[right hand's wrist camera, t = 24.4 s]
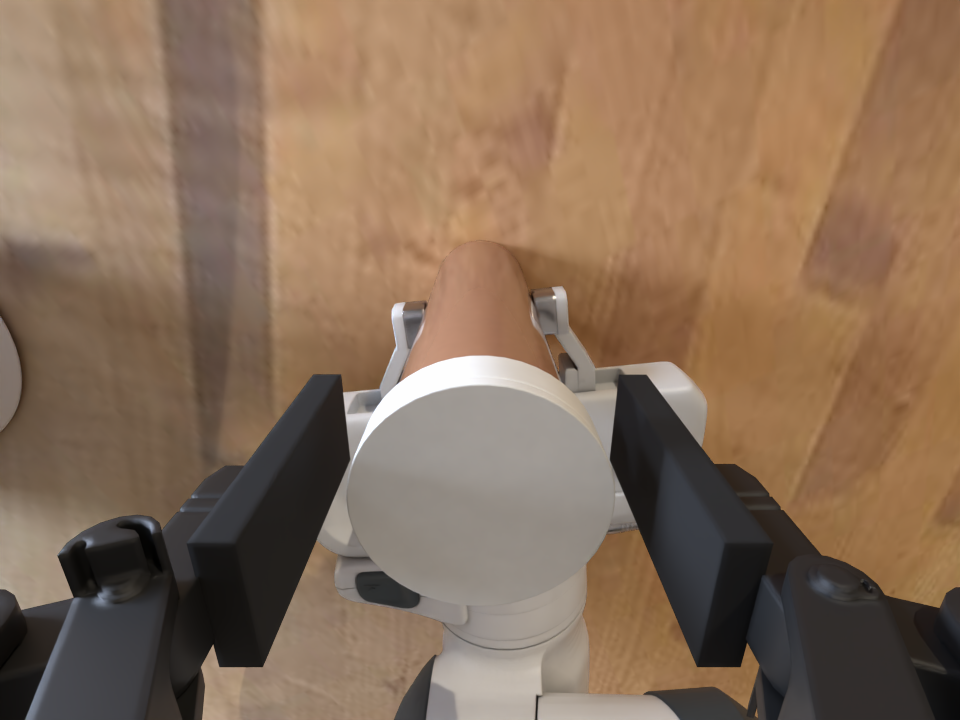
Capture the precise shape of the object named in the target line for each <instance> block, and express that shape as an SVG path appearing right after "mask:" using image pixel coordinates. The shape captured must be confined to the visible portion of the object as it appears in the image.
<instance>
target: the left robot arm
mask: <svg viewBox="0 0 960 720" xmlns="http://www.w3.org/2000/svg"><path fill="white" fill-rule="evenodd" d="M531 298H532V300H533V303H534V306H535V309H536V312H537V314H538V317H539V320H540V323H541V326H542V328H543V331H544V334H545V335H548V334H554V335H555V336H556V338H557V339H558V341H559V342H560V343H561V345H562V346H563V348H564V349H565V351H566V352H567V353H561V354H560V355H559V372H558V373H559V376H560V379H561V382H562V383H563V384H564V385H565V386H566V387H567V388H568V389H570V390H571V391H572V392H573V393H574V394H575V395H576V397H577V398H578V399H579V400H580V402H581V403H582V404H583V405H584V407H585V409H586V410H587V412H588V414H589V415H590V417H591V419H592V421H593V424H594V426H595V429H596V431H597V433H598V436H599V438H600V440H601V443H602V445H603V448H604V450H605V452H606V455H607V457H608V460H609V463H610V465H611V468H612V473H613V477H614V482H615V504H614V512H613V516H612V520H611V523H610V527H609V529H608V531H607V534H616V533H620V532H621V533H622V532H625V531H630V530H631V531H632V530H635V529H636V530H639V528H638V526H637V524H636V521H635V519H634V516H633V514H632V512H631V509H630V507H629V505H628V502H627V500H626V497H625V495H624V493H623V490H622V488H621V486H620V483H619V481H618V479H617V476H616V474H615V471H614V469H613V467H612V464H611V462H610V451H611V442H612V433H613V424H614V414H615V405H616V396H617V387H618V378H619V375H647V376H648V377H649V378H650V380H651V381H652V382H653V384H654V385H655V386H656V388H657V389H658V390H659V392H660V393H661V394H662V396H663V397H664V398H665V400H666V401H667V402H668V404H669V405H670V406H671V408H672V409H673V410H674V412H675V413H676V414H677V416H678V417H679V418H680V420H681V421H682V422H683V424H684V425H685V426H686V428H687V429H688V430H689V431H690V433H691V434H692V435H693V437H694V438H695V439H696V441H697V442H698V443H699V445H700V446H701V447H702V444H703V439H704V433H705V426H706V419H707V401H706V398H705V396H704V394H703V393H702V391H701V390H700V388H699V387H698V386H697V385H696V384H695V382H694V381H693V380H692V379H691V378H690V377H689V376H688V375H687V374H686V373H684V372H683V371H682V370H681V369H680V368H678V367H677V366H676V365H675V364H673V363H671V362H653V363H643V364H632V365H622V366H612V367H601V368H595V366H594V364H593V362H592V360H591V358H590V356H589V355H588V353H587V351H586V349H585V348H584V346H583V345H582V343H581V342H580V341H579V339H578V338H577V336H576V335H575V333H574V332H573V330H572V329H571V328H570V326H569V322H568V301H567V295H566V291H565V290H564V288H563V287H562V286H559V287H549V288H540V289H532V290H531ZM426 306H427V301H416V302H402V303H396V304H395V305H394V307H393V309H392V323H393V329H394V335H395V340H396V348H395V350H394V353H393V355H392V357H391V360H390V362H389V365H388V367H387V370H386V372H385V375H384V377H383V380H382V382H381V385H380V389H373V390H363V391H352V392H343V396H344V405H345V415H346V424H347V433H348V442H349V451H350V462H349V464H348V467H347V469H346V471H345V474H344V476H343V479H342V481H341V483H340V486H339V488H338V490H337V493H336V495H335V497H334V500H333V502H332V505H331V507H330V509H329V512H328V514H327V516H326V519H325V521H324V523H323V526H322V528H321V531H320V533H319V535H318V538H317V541H318V542H319V543H320V544H321V545H323V546H324V547H325V548H326V549H328V550H330V551H331V552H333V553H336V554H338V556H337V561H336V567H335V573H334V581H335V586H336V589H337V591H338V593H339V594H340V595H341V596H342V597H343V598H345V599H347V600H350V601H354V602H359V603H365V604H371V605H377V606H383V607H388V608H393V609H398V610H403V611H407V612H411V613H415V614H419V615H422V616H426V617H428V618H431V619H434V620H437V621H440V622H442V624H443V628H444V633H443V651H442V652H441V654H440V655H438V656H437V655H434V656H433V657H432V658H431V659H430V660H429V661H428V662H427V664H426V665H425V666H424V667H423V669H422V670H421V672H420V673H419V675H418V676H417V678H416V679H415V681H414V682H413V684H412V685H411V687H410V688H409V690H408V692H407V693H406V695H405V696H404V698H403V700H402V702H401V704H400V706H399V709H398V711H397V713H396V716H395V719H394V720H758V718H757V717H756V716H754V719H753V718H750V717H747V716H746V715H747V709H746V708H744V707H743V706H742V705H740V704H739V703H738V702H737V701H735V700H734V699H732V698H731V697H729V696H728V695H727V694H725V693H724V692H722V691H721V690H719V689H718V688H715V687H701V688H688V689H675V690H662V691H649V692H646V693H644V694H643V695H629V694H592V693H588V690H589V669H590V654H589V636H588V630H587V627H586V623H585V620H584V618H583V615H582V614H583V611H584V608H585V604H586V598H587V568H586V565H584V566H583V567H582V568H581V569H580V570H579V571H578V572H577V573H576V574H575V575H573V576H572V577H571V578H569V579H568V580H566V581H565V582H564V583H562V584H560V585H558V586H557V587H555V588H553V589H551V590H549V591H547V592H545V593H543V594H540V595H538V596H536V597H532V598H529V599H526V600H523V601H519V602H514V603H509V604H504V605H494V606H468V605H457V604H452V603H447V602H442V601H439V600H435V599H432V598H429V597H426V596H424V595H421V594H419V593H416V592H414V591H412V590H410V589H408V588H407V587H405V586H403V585H401V584H399V583H398V582H397V581H395V580H394V579H392V578H391V577H390V576H388V575H387V574H386V573H385V572H383V571H382V570H381V569H380V568H379V567H378V566H377V565H376V564H375V563H374V562H373V561H372V559H371V558H370V557H369V556H368V555H367V554H366V552H365V550H364V549H363V547H362V546H361V544H360V543H359V541H358V539H357V537H356V535H355V532H354V530H353V528H352V525H351V521H350V518H349V514H348V508H347V500H346V493H347V480H348V475H349V470H350V467H351V464H352V462H353V459H354V456H355V454H356V451H357V449H358V446H359V444H360V441H361V439H362V437H363V434H364V432H365V429H366V427H367V425H368V422H369V420H370V418H371V416H372V415H373V413H374V411H375V409H376V408H377V406H378V405H379V404H380V402H381V401H382V400H383V398H384V397H385V396H386V395H387V394H388V393H389V392H390V391H391V390H392V389H393V388H394V387H395V386H396V385H397V384H399V382H400V379H401V377H402V374H403V371H404V370H403V368H404V365H405V363H406V360H407V358H408V355H409V353H410V351H411V348H412V345H413V343H414V340H415V337H416V334H417V331H418V328H419V326H420V323H421V320H422V317H423V314H424V311H425V309H426ZM21 390H22V373H21V365H20V360H19V356H18V353H17V349H16V347H15V344H14V341H13V339H12V337H11V334H10V332H9V330H8V328H7V326H6V325H5V323H4V321H3V319H2V318H1V316H0V432H1V431H2V430H3V429H4V428H5V427H6V426H7V424H8V423H9V422H10V420H11V419H12V417H13V416H14V414H15V412H16V409H17V407H18V404H19V401H20V397H21ZM607 534H606V535H607Z"/></svg>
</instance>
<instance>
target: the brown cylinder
mask: <svg viewBox="0 0 960 720" xmlns="http://www.w3.org/2000/svg"><path fill="white" fill-rule="evenodd" d="M465 356H496V357H505V358H509V359H513V360H517V361H521V362H524V363H527V364H529V365H532V366H535V367H537V368H539V369H541V370H543V371H545V372H546V373H548V374H550V375H552V376H553V377H555V378H556V379H557V380H559V381H560V382H561V379H560V376H559V373H558V370H557V368H556V365H555V362H554V359H553V356H552V354H551V351H550V348H549V345H548V342H547V340H546V337H545V334H544V331H543V328H542V326H541V323H540V320H539V317H538V314H537V312H536V309H535V306H534V303H533V300H532V298H531V295H530V292H529V289H528V286H527V284H526V281H525V278H524V275H523V272H522V270H521V267H520V265H519V263H518V261H517V260H516V258H515V257H514V256H513V255H512V254H511V253H510V252H509V251H508V250H507V249H506V248H504V247H502V246H501V245H499V244H496V243H493V242H490V241H471V242H467V243H464V244H462V245H460V246H458V247H457V248H455V249H454V250H453V251H451V252H450V253H449V254H448V255H447V256H446V258H445V259H444V261H443V262H442V264H441V266H440V269H439V272H438V275H437V277H436V280H435V283H434V286H433V289H432V292H431V294H430V297H429V300H428V303H427V306H426V309H425V311H424V314H423V317H422V320H421V323H420V326H419V328H418V331H417V334H416V337H415V340H414V343H413V345H412V348H411V351H410V354H409V357H408V360H407V362H406V365H405V368H404V371H403V374H402V377H401V379H400V382H401V381H403V380H404V379H405V378H407V377H408V376H410V375H411V374H413V373H415V372H417V371H419V370H420V369H422V368H425V367H427V366H430V365H432V364H435V363H437V362H441V361H444V360H448V359H452V358H458V357H465ZM400 382H399V383H400Z"/></svg>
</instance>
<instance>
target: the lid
mask: <svg viewBox="0 0 960 720" xmlns="http://www.w3.org/2000/svg"><path fill="white" fill-rule="evenodd" d="M346 500H347V508H348V514H349V518H350V521H351V525H352V528H353V530H354V532H355V535H356V537H357V539H358V541H359V543H360V544H361V546H362V547H363V549H364V550H365V552H366V554H367V555H368V556H369V557H370V558H371V559H372V561H373V562H374V563H375V564H376V565H377V566H378V567H379V568H380V569H381V570H382V571H383V572H385V573H386V574H387V575H388V576H390V577H391V578H392V579H394V580H395V581H397V582H398V583H399V584H401V585H403V586H405V587H407V588H408V589H410V590H412V591H414V592H416V593H419V594H421V595H424V596H426V597H429V598H432V599H435V600H439V601H442V602H447V603H452V604H457V605H468V606H494V605H504V604H509V603H514V602H519V601H523V600H526V599H529V598H532V597H536V596H538V595H540V594H543V593H545V592H547V591H549V590H551V589H553V588H555V587H557V586H558V585H560V584H562V583H564V582H565V581H566V580H568V579H569V578H571V577H572V576H573V575H575V574H576V573H577V572H578V571H579V570H580V569H581V568H582V567H583V566H584V565H586V564H587V563H588V561H589V560H590V559H591V558H592V556H593V555H594V554H595V553H596V552H597V550H598V548H599V547H600V545H601V543H602V542H603V540H604V538H605V536H606V534H607V531H608V529H609V527H610V523H611V520H612V516H613V512H614V504H615V482H614V477H613V473H612V468H611V465H610V463H609V460H608V457H607V455H606V452H605V450H604V448H603V445H602V443H601V440H600V438H599V436H598V433H597V431H596V429H595V426H594V424H593V421H592V419H591V417H590V415H589V414H588V412H587V410H586V409H585V407H584V405H583V404H582V403H581V402H580V400H579V399H578V398H577V397H576V395H575V394H574V393H573V392H572V391H571V390H570V389H568V388H567V387H566V386H565V385H564V384H563V383H562V382H560V381H559V380H557V379H556V378H555V377H553V376H552V375H550V374H548V373H546V372H545V371H543V370H541V369H539V368H537V367H535V366H532V365H529V364H527V363H524V362H521V361H517V360H513V359H509V358H505V357H496V356H465V357H458V358H452V359H448V360H444V361H441V362H437V363H435V364H432V365H430V366H427V367H425V368H422V369H420V370H419V371H417V372H415V373H413V374H411V375H410V376H408V377H407V378H405V379H404V380H403V381H401V382H400V383H399V384H397V385H396V386H395V387H394V388H393V389H392V390H391V391H390V392H389V393H388V394H387V395H386V396H385V397H384V398H383V400H382V401H381V402H380V404H379V405H378V406H377V408H376V409H375V411H374V413H373V415H372V416H371V418H370V420H369V422H368V425H367V427H366V429H365V432H364V434H363V437H362V439H361V441H360V444H359V446H358V449H357V451H356V454H355V456H354V459H353V462H352V464H351V467H350V470H349V475H348V480H347V493H346Z"/></svg>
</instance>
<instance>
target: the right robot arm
mask: <svg viewBox="0 0 960 720" xmlns="http://www.w3.org/2000/svg"><path fill="white" fill-rule="evenodd" d="M349 462H350V451H349V442H348V433H347V424H346V415H345V405H344V396H343V387H342V378H341V375H313V376H312V377H311V378H310V380H309V381H308V382H307V384H306V385H305V386H304V388H303V389H302V390H301V392H300V393H299V394H298V396H297V397H296V398H295V400H294V401H293V402H292V404H291V405H290V406H289V408H288V409H287V410H286V412H285V413H284V414H283V416H282V417H281V418H280V420H279V421H278V422H277V424H276V425H275V426H274V427H273V429H272V430H271V431H270V433H269V434H268V435H267V437H266V438H265V439H264V441H263V442H262V443H261V445H260V446H259V447H258V449H257V450H256V451H255V453H254V454H253V455H252V457H251V458H250V459H249V461H248V462H247V463H246V465H245V466H224V467H223V468H221V469H220V470H218V471H217V472H215V473H214V474H212V475H211V476H209V477H208V478H206V479H205V480H204V481H203V482H202V483H201V484H200V485H199V487H198V488H197V489H196V490H195V491H194V493H193V494H192V495H191V498H189V499H188V500H187V501H186V502H185V503H184V504H183V506H182V507H181V508H180V512H177V513H176V514H175V515H174V516H173V517H172V519H171V520H170V521H169V522H168V523H167V525H166V526H165V527H164V528H163V529H162V530H161V527H160V523H159V522H158V521H156V520H155V519H154V518H152V517H149V516H143V515H131V516H122V517H118V518H114V519H111V520H108V521H105V522H101V523H99V524H97V525H95V526H93V527H91V528H89V529H87V530H85V531H83V532H81V533H80V534H79V535H77V536H76V537H75V538H73V539H72V540H70V541H69V542H68V543H67V544H66V545H65V546H64V547H63V549H62V550H61V551H60V553H59V554H58V555H57V556H58V558H59V561H60V563H61V566H62V568H63V571H64V574H65V576H66V579H67V581H68V584H69V586H70V589H71V592H72V594H73V597H74V598H71V599H68V600H63V601H59V602H55V603H50V604H46V605H42V606H37V607H33V608H29V609H24V610H21V609H20V606H19V604H18V602H17V600H16V597H15V595H13V594H12V593H10V592H8V591H7V590H1V589H0V720H202V714H203V702H204V691H205V683H204V678H203V673H202V670H201V666H202V664H203V662H204V660H205V658H206V656H207V655H208V653H209V651H210V649H211V647H212V645H214V648H215V652H216V656H217V660H218V663H219V667H263V665H264V663H265V661H266V658H267V656H268V654H269V651H270V649H271V646H272V644H273V642H274V639H275V637H276V635H277V632H278V630H279V628H280V625H281V623H282V620H283V618H284V616H285V613H286V611H287V609H288V606H289V604H290V602H291V599H292V597H293V594H294V592H295V590H296V587H297V585H298V583H299V580H300V578H301V575H302V573H303V571H304V568H305V566H306V564H307V561H308V559H309V557H310V554H311V552H312V549H313V547H314V545H315V542H316V540H317V538H318V535H319V533H320V531H321V528H322V526H323V523H324V521H325V519H326V516H327V514H328V512H329V509H330V507H331V505H332V502H333V500H334V497H335V495H336V493H337V490H338V488H339V486H340V483H341V481H342V479H343V476H344V474H345V471H346V469H347V467H348V464H349ZM610 462H611V464H612V467H613V469H614V471H615V474H616V476H617V479H618V481H619V483H620V486H621V488H622V490H623V493H624V495H625V497H626V500H627V502H628V505H629V507H630V509H631V512H632V514H633V516H634V519H635V521H636V524H637V526H638V528H639V531H640V533H641V535H642V538H643V540H644V542H645V545H646V547H647V550H648V552H649V554H650V557H651V559H652V561H653V564H654V566H655V568H656V571H657V573H658V576H659V578H660V580H661V583H662V585H663V587H664V590H665V592H666V594H667V597H668V599H669V602H670V604H671V606H672V609H673V611H674V613H675V616H676V618H677V620H678V623H679V625H680V628H681V630H682V632H683V635H684V637H685V639H686V642H687V644H688V646H689V649H690V651H691V654H692V656H693V658H694V661H695V663H696V665H697V667H741V663H742V660H743V656H744V652H745V648H746V645H747V643H748V645H749V646H750V648H751V650H752V652H753V654H754V656H755V657H756V659H757V661H758V663H759V665H760V666H759V670H758V673H757V677H756V680H755V684H754V687H753V691H752V694H751V697H750V701H749V704H748V710H747V715H746V716H747V717H750V718H753V719H754V716H755V712H756V709H757V712H758V720H960V587H956V588H954V589H952V590H951V591H949V592H947V593H946V595H945V597H944V600H943V602H942V604H941V606H940V608H937V607H932V606H928V605H924V604H919V603H915V602H910V601H906V600H902V599H897V598H893V597H890V596H886V595H884V593H883V592H882V590H881V589H880V587H879V586H878V584H876V583H875V582H874V581H873V580H872V579H871V578H869V577H868V576H867V575H866V574H865V573H863V572H862V571H860V570H858V569H856V568H855V567H853V566H851V565H849V564H847V563H846V562H843V561H840V560H837V559H834V558H831V557H828V556H822V555H821V554H820V553H819V552H818V550H817V549H816V548H815V547H814V546H813V545H812V543H811V542H810V541H809V540H808V539H807V537H806V536H805V535H804V534H803V533H802V532H801V530H800V529H799V528H798V527H797V526H796V525H795V523H794V522H793V521H792V520H791V519H790V517H789V516H788V515H787V514H786V513H785V512H784V510H781V509H780V506H779V505H778V503H777V502H776V501H775V500H774V499H773V497H770V496H769V493H768V492H767V490H766V489H765V488H764V487H763V486H762V485H761V483H760V482H759V481H758V480H757V479H756V478H755V477H754V476H752V475H751V474H749V473H748V472H746V471H745V470H743V469H742V468H740V467H738V466H737V465H735V464H714V463H713V462H712V461H711V459H710V458H709V457H708V455H707V454H706V453H705V451H704V450H703V449H702V447H701V446H700V445H699V443H698V442H697V441H696V439H695V438H694V437H693V435H692V434H691V433H690V431H689V430H688V429H687V428H686V426H685V425H684V424H683V422H682V421H681V420H680V418H679V417H678V416H677V414H676V413H675V412H674V410H673V409H672V408H671V406H670V405H669V404H668V402H667V401H666V400H665V398H664V397H663V396H662V394H661V393H660V392H659V390H658V389H657V388H656V386H655V385H654V384H653V382H652V381H651V380H650V378H649V377H648V376H647V375H619V378H618V387H617V396H616V405H615V414H614V424H613V433H612V442H611V451H610Z"/></svg>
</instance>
